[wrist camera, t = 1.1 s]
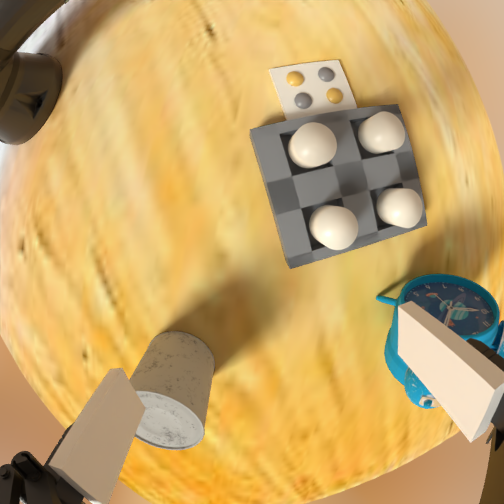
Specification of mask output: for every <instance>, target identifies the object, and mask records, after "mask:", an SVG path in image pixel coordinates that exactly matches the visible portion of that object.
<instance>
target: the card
mask: <svg viewBox="0 0 504 504" xmlns="http://www.w3.org/2000/svg"><path fill="white" fill-rule="evenodd" d="M269 74H270V76H271V79H272V82H273V84H274V87H275V90H276V93H277V96H278V98H279V101H280V104H281V107H282V110H283V113H284V116H285V119H286V121H287V120H292V119H296V118H301V117H306V116H312V115H317V114H323V113H329V112H335V111H341V110H348V109H356V108H357V105H356V102H355V99H354V97H353V94H352V92H351V89H350V86H349V84H348V81H347V79H346V77H345V74H344V72H343V69H342V67H341V65H340V63H339V60H332V61H321V62H312V63H304V64H297V65H291V66H284V67H279V68H273V69H269Z"/></svg>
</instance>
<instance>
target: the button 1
mask: <svg viewBox="0 0 504 504" xmlns="http://www.w3.org/2000/svg"><path fill="white" fill-rule="evenodd" d="M336 150H337V141H336V138H335V136H334V134H333V132H332V131H331V130H330V129H329V128H328V127H326V126H325V125H323V124H321V123H316V122H311V123H306V124H304V125H302V126H301V127H300V128H299V129H298V130H297V131H296V133H295V134H294V135H293V136H292V137H291V139H290V141H289V144H288V153H289V156H290V158H291V159H292V161H293V162H294V163H295V164H297V165H298V166H300V167H303V168H314V167H317V166H320V165H322V164H325V163H327V162H329V161H330V160H331V159H332V158H333V157H334V155H335V153H336Z"/></svg>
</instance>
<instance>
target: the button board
mask: <svg viewBox="0 0 504 504" xmlns="http://www.w3.org/2000/svg"><path fill="white" fill-rule="evenodd" d="M383 111H385V112H390V113H392V114H394V115H395V116H396V117H397V118H398V119H399V120H400V121H401V123H402V125H403V127H404V130H405V140H404V143H403V144H402V146H401V147H399V148H398V149H395V150H391V151H387V152H383V153H379V154H374V153H371V152H369V151H367V150H366V149H365V148H364V147H363V146H362V145H361V143H360V141H359V138H358V128H359V126H360V124H361V123H362V122H363V121H365V120H367V119H368V118H370V117H372V116H374V115H375V114H377V113H379V112H383ZM311 122H316V123H321V124H323V125H325V126H326V127H328V128H329V129H330V130H331V131H332V132H333V134H334V136H335V138H336V141H337V150H336V153H335V155H334V157H333V158H332V159H331V160H330V161H329V162H327V163H325V164H322V165H320V166H317V167H314V168H303V167H300V166H298V165H297V164H295V163H294V162H293V161H292V159H291V158H290V156H289V153H288V144H289V141H290V139H291V137H292V136H293V135H294V134H295V133H296V131H297V130H298V129H299V128H300V127H301V126H302V125H304V124H306V123H311ZM250 139H251V142H252V145H253V148H254V152H255V155H256V158H257V162H258V165H259V168H260V172H261V175H262V178H263V182H264V185H265V188H266V192H267V195H268V199H269V202H270V206H271V209H272V213H273V216H274V220H275V223H276V227H277V231H278V234H279V238H280V241H281V245H282V249H283V252H284V256H285V260H286V263H287V264H288V266H289V268H290V269H292V268H295V267H299V266H302V265H305V264H309V263H312V262H315V261H319V260H322V259H325V258H328V257H332V256H335V255H338V254H341V253H345V252H348V251H351V250H354V249H357V248H360V247H364V246H367V245H370V244H373V243H376V242H379V241H382V240H385V239H388V238H391V237H394V236H397V235H400V234H403V233H406V232H409V231H412V230H415V229H418V228H421V227H424V226H427V219H426V213H425V207H424V201H423V195H422V190H421V185H420V180H419V176H418V171H417V167H416V163H415V159H414V155H413V151H412V147H411V144H410V140H409V137H408V133H407V130H406V127H405V124H404V121H403V118H402V115H401V112H400V109H399V106H398V104H394V105H382V106H372V107H364V108H356V109H348V110H341V111H335V112H329V113H323V114H317V115H312V116H306V117H301V118H296V119H292V120H287V121H283V122H278V123H274V124H270V125H266V126H262V127H258V128H254V129H250ZM389 188H403V189H412V190H414V191H415V192H416V193H417V194H418V195H419V197H420V199H421V201H422V206H423V211H422V216H421V219H420V220H419V222H418V223H417V224H416V225H415V226H414V227H411V228H403V227H400V226H396V225H392V224H388V223H385V222H384V221H383V220H382V219H381V218H380V217H379V215H378V212H377V200H378V197H379V195H380V194H381V193H382V192H383V191H384V190H386V189H389ZM324 205H332V206H339V207H344V208H347V209H348V210H350V211H351V212H352V213H353V214H354V215H355V217H356V219H357V222H358V234H357V237H356V239H355V241H354V242H353V243H352V244H351V245H350V246H349V247H347V248H345V249H342V250H333V249H330V248H328V247H326V246H325V245H323V244H322V243H320V242H319V241H317V240H316V239H315V238H314V237H313V236H312V234H311V232H310V228H309V221H310V218H311V215H312V214H313V212H314V211H315V210H316V209H317V208H319V207H321V206H324Z"/></svg>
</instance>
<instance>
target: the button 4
mask: <svg viewBox="0 0 504 504" xmlns="http://www.w3.org/2000/svg"><path fill="white" fill-rule="evenodd" d="M422 211H423V206H422V201H421V199H420V197H419V195H418V194H417V193H416V192H415V191H414V190H412V189H403V188H389V189H386V190H384V191H383V192H382V193H381V194H380V195H379V197H378V200H377V212H378V215H379V217H380V218H381V219H382V220H383V221H384V222H385V223H388V224H392V225H396V226H400V227H403V228H411V227H414V226H415V225H416V224H417V223H418V222H419V220H420V219H421V216H422Z"/></svg>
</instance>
